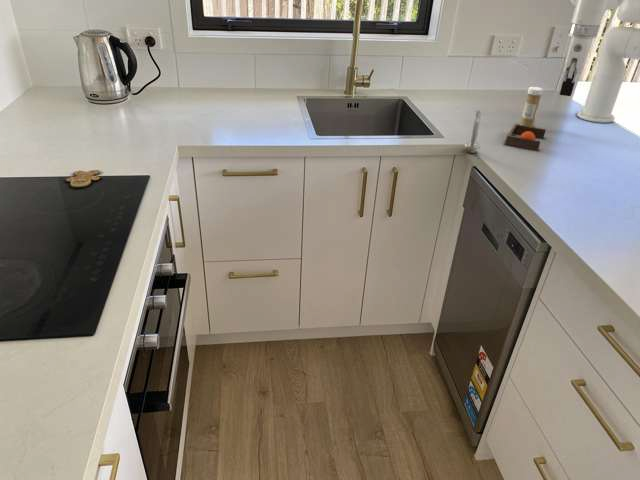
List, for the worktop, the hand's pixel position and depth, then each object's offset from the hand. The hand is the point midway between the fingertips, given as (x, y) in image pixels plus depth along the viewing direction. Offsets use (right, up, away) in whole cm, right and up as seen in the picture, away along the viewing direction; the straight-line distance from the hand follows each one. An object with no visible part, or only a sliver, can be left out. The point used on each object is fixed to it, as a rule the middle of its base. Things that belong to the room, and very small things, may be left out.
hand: (565, 94), depth 148 cm
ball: (-9, -12, +6) cm, 16 cm away
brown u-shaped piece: (-8, -12, +11) cm, 18 cm away
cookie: (-137, -29, -22) cm, 142 cm away
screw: (-28, -17, +2) cm, 33 cm away
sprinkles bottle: (-2, -4, +23) cm, 24 cm away
